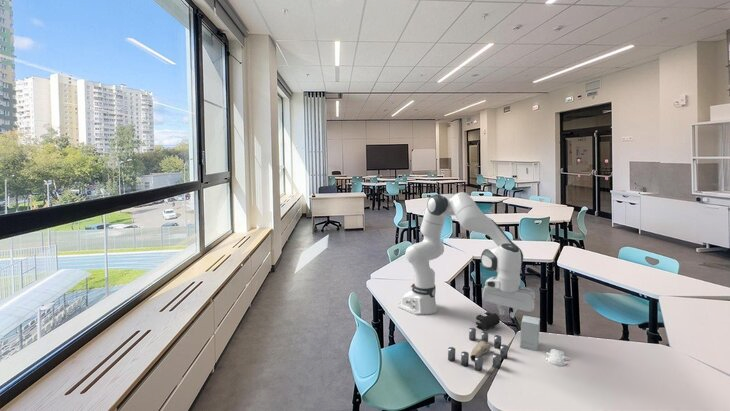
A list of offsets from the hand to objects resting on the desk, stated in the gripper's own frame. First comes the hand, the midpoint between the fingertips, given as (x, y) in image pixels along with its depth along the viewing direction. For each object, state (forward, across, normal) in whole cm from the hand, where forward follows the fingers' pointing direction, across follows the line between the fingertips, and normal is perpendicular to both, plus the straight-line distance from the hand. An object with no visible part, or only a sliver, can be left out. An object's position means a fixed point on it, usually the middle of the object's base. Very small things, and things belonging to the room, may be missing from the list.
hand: (506, 315), depth 158 cm
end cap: (+22, +18, -27) cm, 39 cm away
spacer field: (+21, +10, 0) cm, 23 cm away
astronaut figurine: (+22, -16, -17) cm, 32 cm away
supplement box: (+21, -4, -21) cm, 30 cm away
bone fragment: (+22, +11, 0) cm, 24 cm away
